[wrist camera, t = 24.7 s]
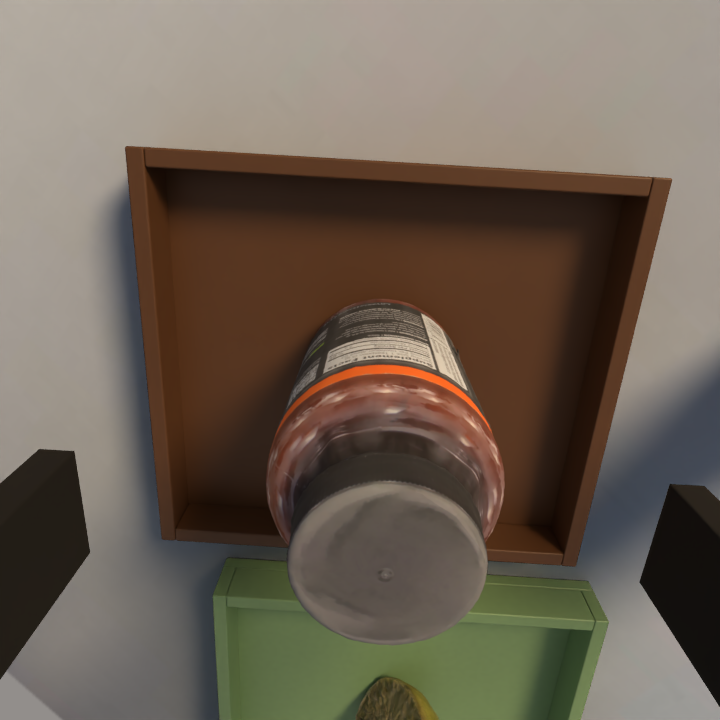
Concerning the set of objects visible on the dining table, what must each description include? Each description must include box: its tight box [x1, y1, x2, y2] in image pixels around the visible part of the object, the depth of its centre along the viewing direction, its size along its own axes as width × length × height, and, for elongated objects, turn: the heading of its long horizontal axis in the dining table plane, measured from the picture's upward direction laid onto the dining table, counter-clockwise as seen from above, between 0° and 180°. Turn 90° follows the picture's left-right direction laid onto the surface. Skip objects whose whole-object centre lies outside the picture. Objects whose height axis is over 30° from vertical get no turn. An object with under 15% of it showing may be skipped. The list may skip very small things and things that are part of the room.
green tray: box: [213, 558, 609, 720], centre depth 27 cm, size 17×15×2 cm
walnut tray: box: [125, 146, 672, 567], centre depth 20 cm, size 17×15×2 cm
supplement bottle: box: [266, 299, 505, 646], centre depth 16 cm, size 6×6×11 cm
